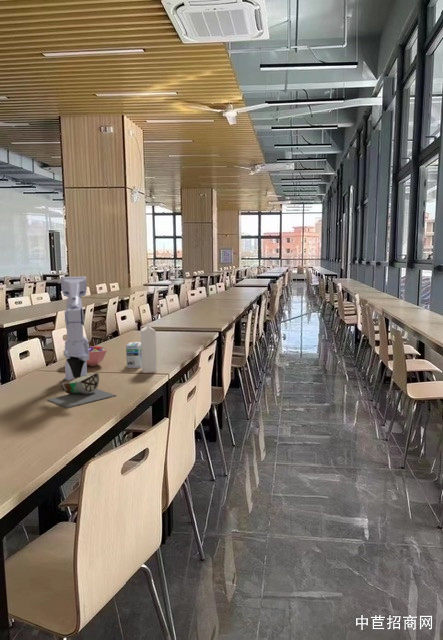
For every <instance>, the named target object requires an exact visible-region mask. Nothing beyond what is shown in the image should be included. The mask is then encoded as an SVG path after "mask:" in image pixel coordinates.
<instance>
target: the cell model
mask: <svg viewBox="0 0 443 640" xmlns="http://www.w3.org/2000/svg"><path fill="white" fill-rule="evenodd" d="M107 350H108V349H106V348H105V347H104V346H98V345H89V360H86V361H87V367H94V366H97V365H99V364H100V363H102V362H103V361H104V359H105V356H106V354H107Z"/></svg>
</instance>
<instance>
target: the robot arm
mask: <svg viewBox="0 0 443 640" xmlns="http://www.w3.org/2000/svg"><path fill="white" fill-rule="evenodd" d="M60 283H61V284H60V286H61V291H62V294H63V297H67V298H66V300H65V301H66V302H65V310H64V323H65V329H66V339H65V342H64V350H63V353H62V354H63V356H64V357H65V359H66V361H65V363H64V371H65V372H64V373H65V374H64V375H65V377H63V379H64V380H66V381H69V380H71V379H73V378H78V377H80V376H84V375H88V366H87V361H86V360H89V346H90V344H89V339H88V338H86V337H85V336H84V322H85V319H84V317H85V316H84V309H83V300H82V297H85V296H86V295H87V277H86V276H85V275H83V276H64V275H63V276H62V277H60Z"/></svg>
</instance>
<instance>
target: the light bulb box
mask: <svg viewBox="0 0 443 640" xmlns="http://www.w3.org/2000/svg"><path fill="white" fill-rule="evenodd" d="M125 348H126V356H125V358H126V368H127V369H129V368H130V369H133V368H134V369H137V368H138V369H142V359H141V341H130V342H128V343H127V344H126V346H125Z"/></svg>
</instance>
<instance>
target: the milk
mask: <svg viewBox="0 0 443 640" xmlns="http://www.w3.org/2000/svg"><path fill="white" fill-rule="evenodd" d="M156 332H157V331H156V329H154V328H152V327H151V326H150V323H149V322H146V326H144V327H143V328H141V329H140V342H141V359H142V366H141V371H142V372H143V374H144V373H146V374H147V373H157V372H158V371H157V340H156V339H157V337H156V336H157V335H156Z"/></svg>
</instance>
